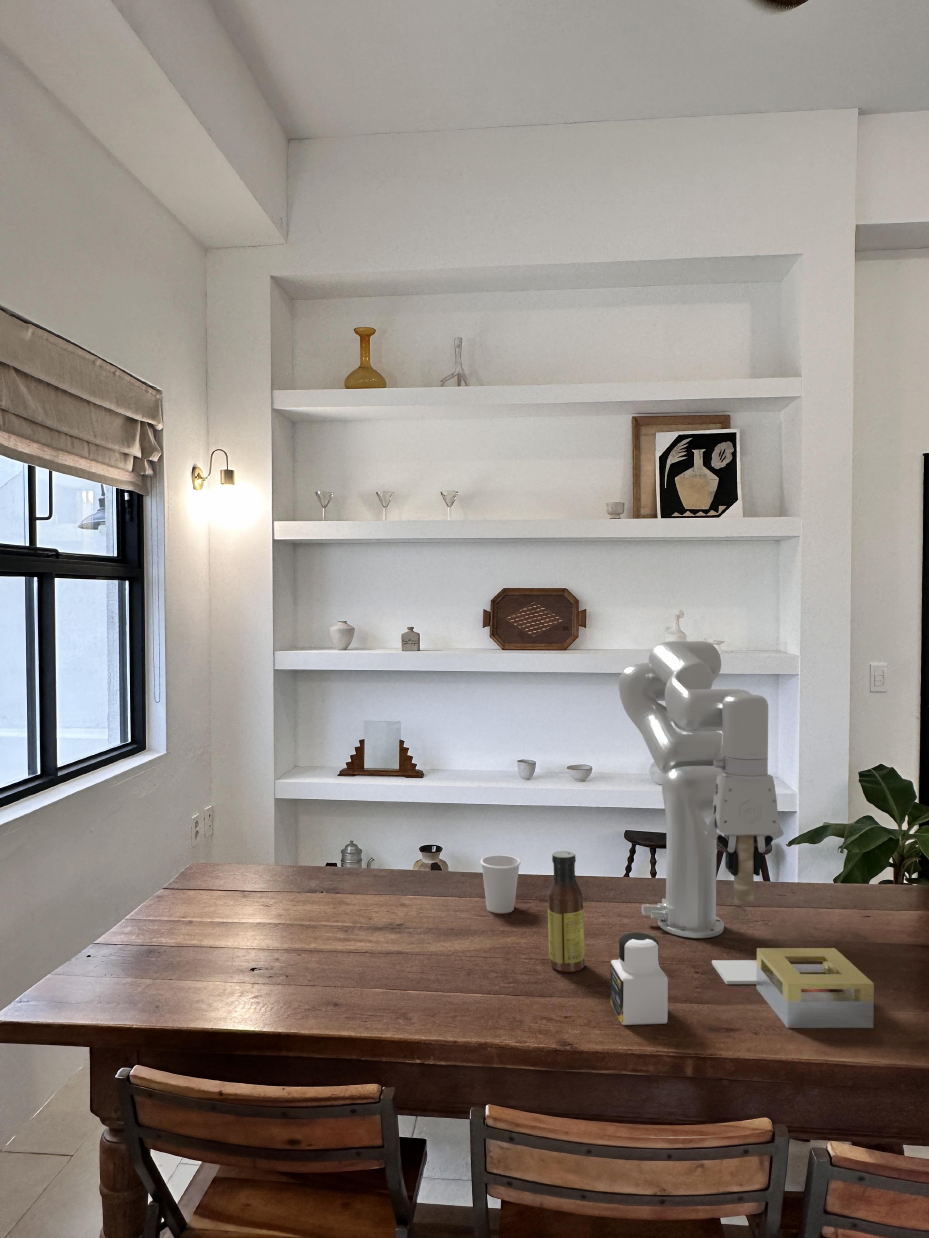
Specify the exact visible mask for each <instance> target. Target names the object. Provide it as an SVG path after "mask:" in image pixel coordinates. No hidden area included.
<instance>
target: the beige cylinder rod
mask: <svg viewBox="0 0 929 1238" xmlns="http://www.w3.org/2000/svg"><path fill="white" fill-rule="evenodd" d="M735 852H737V853H738V875H737V876H733V903H734V904H736V905H739V906H744V907H745V906H746V907H749V906H753V905H754V884H755V882H754V881H755V880H754V879H755V878H754V876H755V875H754V836H736V844H735Z"/></svg>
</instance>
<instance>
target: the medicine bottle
mask: <svg viewBox="0 0 929 1238" xmlns="http://www.w3.org/2000/svg"><path fill="white" fill-rule="evenodd" d="M618 940H619V941H618V946H619V947H618V959H612V960H611V961H610V1005H611V1006H612V1008H613V1011H614V1012H615V1014H616V1016H617V1018H618V1020H619V1022H620V1023H621V1024H622V1025H623V1026H631V1025H632V1026H634V1025H636V1026H637V1025H639V1026H640V1025H658V1024H659V1025H662V1024H663V1025H664V1024H665V1025H666V1024H667V1023H668V1009H669V1008H668V1001H669V999H668V998H669V997H668V995H669V994H668V993H669V989H668V988H669V987H668V986H669V984H668V983H669V978H668V977H667V975H666V974H665V972H664V971H663V970H662V969H661V967H660V965H659V962H660V960H659V957H660V956H659V955H660V953H659V952H660V951H659V948H660V943H659V941H658V940H657V938H656V937H654V936H652V935H650V934H647V933H644V932H639V931H638V932H629V933H625V934H623V935H621V937H620V938H619V939H618Z"/></svg>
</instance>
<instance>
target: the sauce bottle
mask: <svg viewBox="0 0 929 1238" xmlns="http://www.w3.org/2000/svg"><path fill="white" fill-rule="evenodd" d="M576 858H577V857H576V854H575V853H574V852H572V851H569V850H559V851H558V850H557V851H555V852H553V853H552V856H551V860H552V861H551V862H552V864H553V876H552V877H553V880H552V881H551V883H550V884H549V887H548V889H547V919H548V920H547V921H548V922H547V924H548V925H547V926H548V928H547V929H548V955H549V961H550V965H551V967H552V969H554V970H557V971H559V972H563V973H575V972H578V971H581V970H582V969H584V966H585V964H586V963H585V960H586V959H585V957H586V953H585V951H586V948H585V947H586V945H585V942H586V941H585V924H584V923H585V920H584V919H585V918H584V903H583V893H582V891H581V888H580V886H579V885H578V882H577V879H576V871H575V869H576V861H577V860H576Z"/></svg>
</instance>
